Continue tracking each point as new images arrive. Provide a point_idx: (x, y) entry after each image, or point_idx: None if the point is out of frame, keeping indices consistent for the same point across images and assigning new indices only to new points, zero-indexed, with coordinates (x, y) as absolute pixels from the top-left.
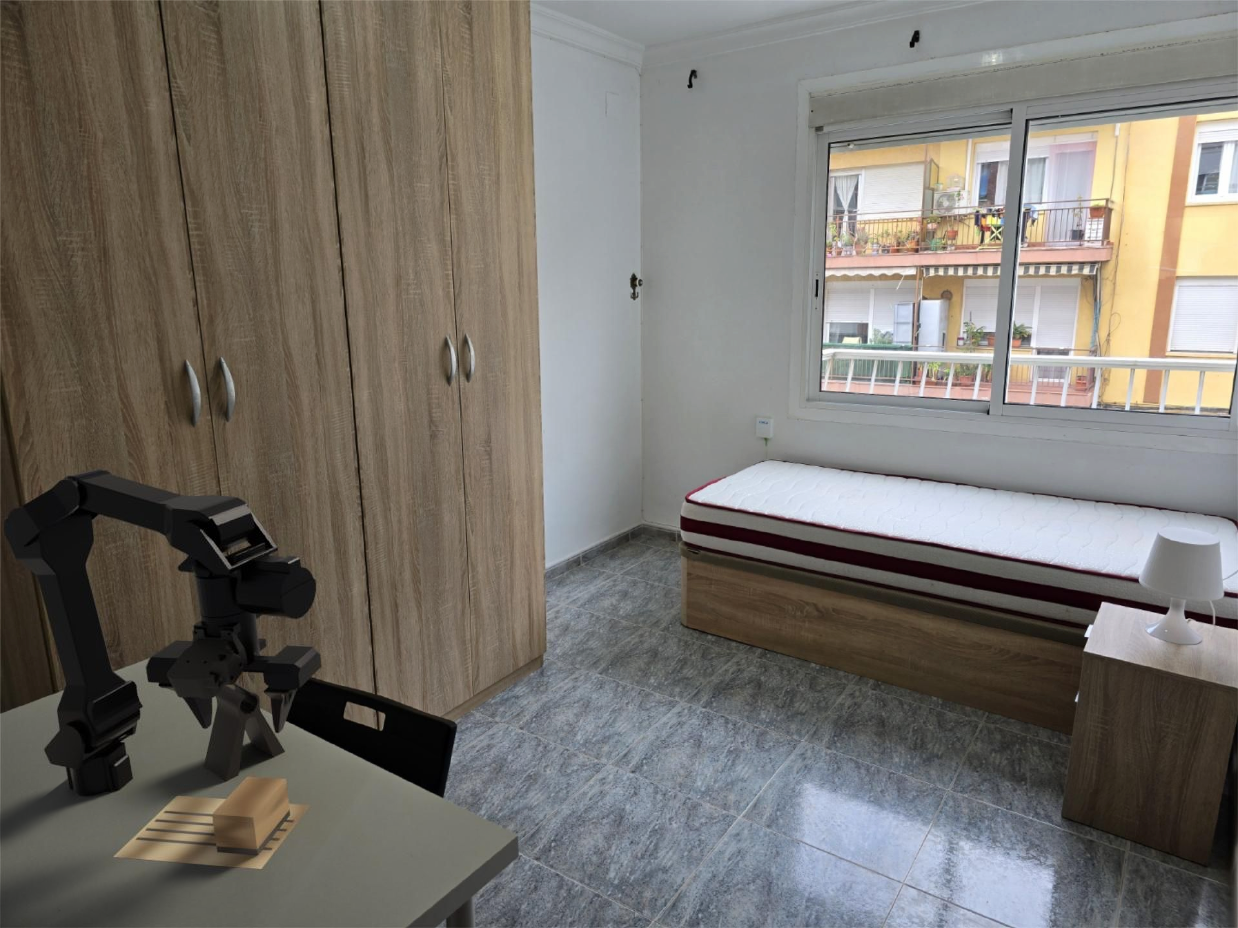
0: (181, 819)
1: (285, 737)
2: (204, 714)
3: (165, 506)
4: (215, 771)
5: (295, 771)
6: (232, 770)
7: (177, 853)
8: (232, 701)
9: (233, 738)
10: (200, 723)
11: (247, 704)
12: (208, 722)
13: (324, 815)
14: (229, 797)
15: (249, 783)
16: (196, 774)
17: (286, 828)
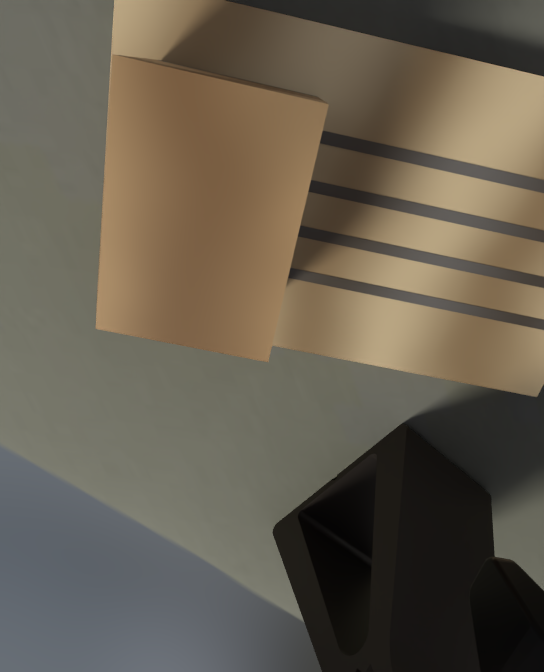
0: (493, 285)
1: None
2: (534, 669)
3: None
4: (448, 482)
5: (231, 476)
6: (392, 472)
7: (459, 105)
8: None
9: (404, 571)
10: (541, 593)
11: None
12: (487, 603)
13: (61, 286)
14: (291, 228)
15: (240, 315)
16: (505, 491)
17: None
